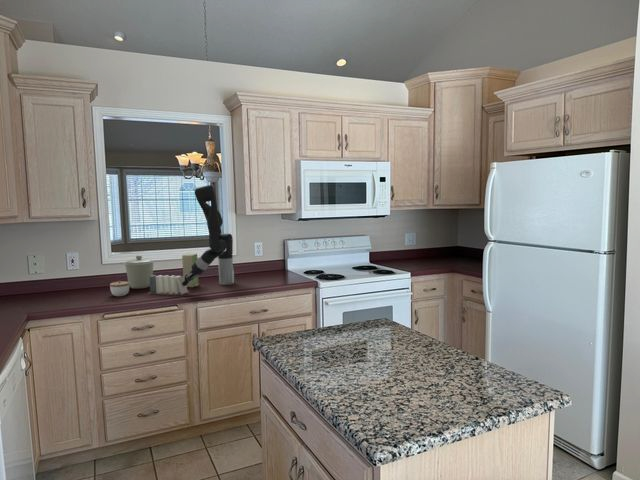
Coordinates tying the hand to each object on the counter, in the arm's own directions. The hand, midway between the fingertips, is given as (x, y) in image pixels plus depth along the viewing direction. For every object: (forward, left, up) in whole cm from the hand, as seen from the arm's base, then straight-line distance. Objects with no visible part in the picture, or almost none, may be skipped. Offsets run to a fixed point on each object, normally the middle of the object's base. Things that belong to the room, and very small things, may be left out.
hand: (183, 284), depth 269 cm
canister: (+35, -22, -6) cm, 41 cm away
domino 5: (+4, -1, -5) cm, 7 cm away
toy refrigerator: (+2, -22, -6) cm, 23 cm away
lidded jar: (+38, +1, -6) cm, 38 cm away
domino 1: (+20, -5, -5) cm, 21 cm away
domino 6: (0, 0, -5) cm, 5 cm away
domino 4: (+8, -2, -5) cm, 10 cm away
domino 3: (+12, -3, -5) cm, 13 cm away
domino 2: (+16, -4, -5) cm, 17 cm away
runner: (+10, -3, -6) cm, 12 cm away
